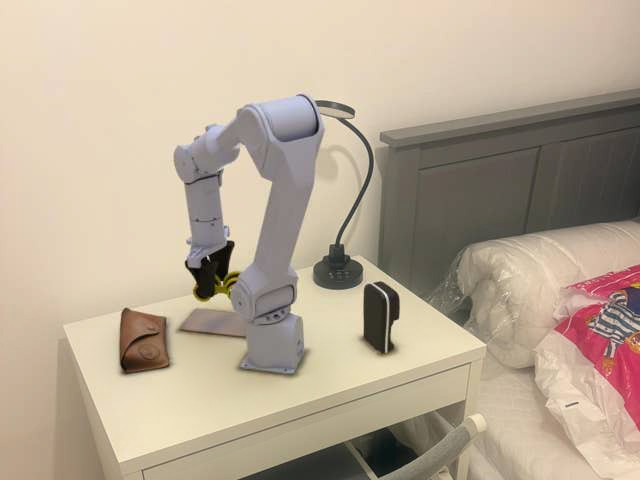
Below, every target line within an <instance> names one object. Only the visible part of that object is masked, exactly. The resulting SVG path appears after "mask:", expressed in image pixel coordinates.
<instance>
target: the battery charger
mask: <svg viewBox="0 0 640 480" xmlns="http://www.w3.org/2000/svg"><path fill="white" fill-rule="evenodd" d="M400 299H401V298H400V295H399V293H398V292H397V291H396V290H395V289H394V288H393V287H391V286H389V285H388V284H387V283H385V282H384V281H381V280H379V281H375V282H369V283H367V284H365V285H364V288H363V299H362V300H363V304H362V305H363V307H362V309H363V312H362V313H363V314H362V315H363V336H362V337H363V339H364V340H365V341H366V342H367V343H369V345H370V346H372V348H374V349H375V350H376V351H378V352H379V353H380V354H387V353H390V352H391V351H393V350H394V349H395V344H394V343H393V342H392V339H391V337H392V328H393V325H394V324H395V323H394V322H396V321H398V320H399V319H400V313H401V300H400Z"/></svg>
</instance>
